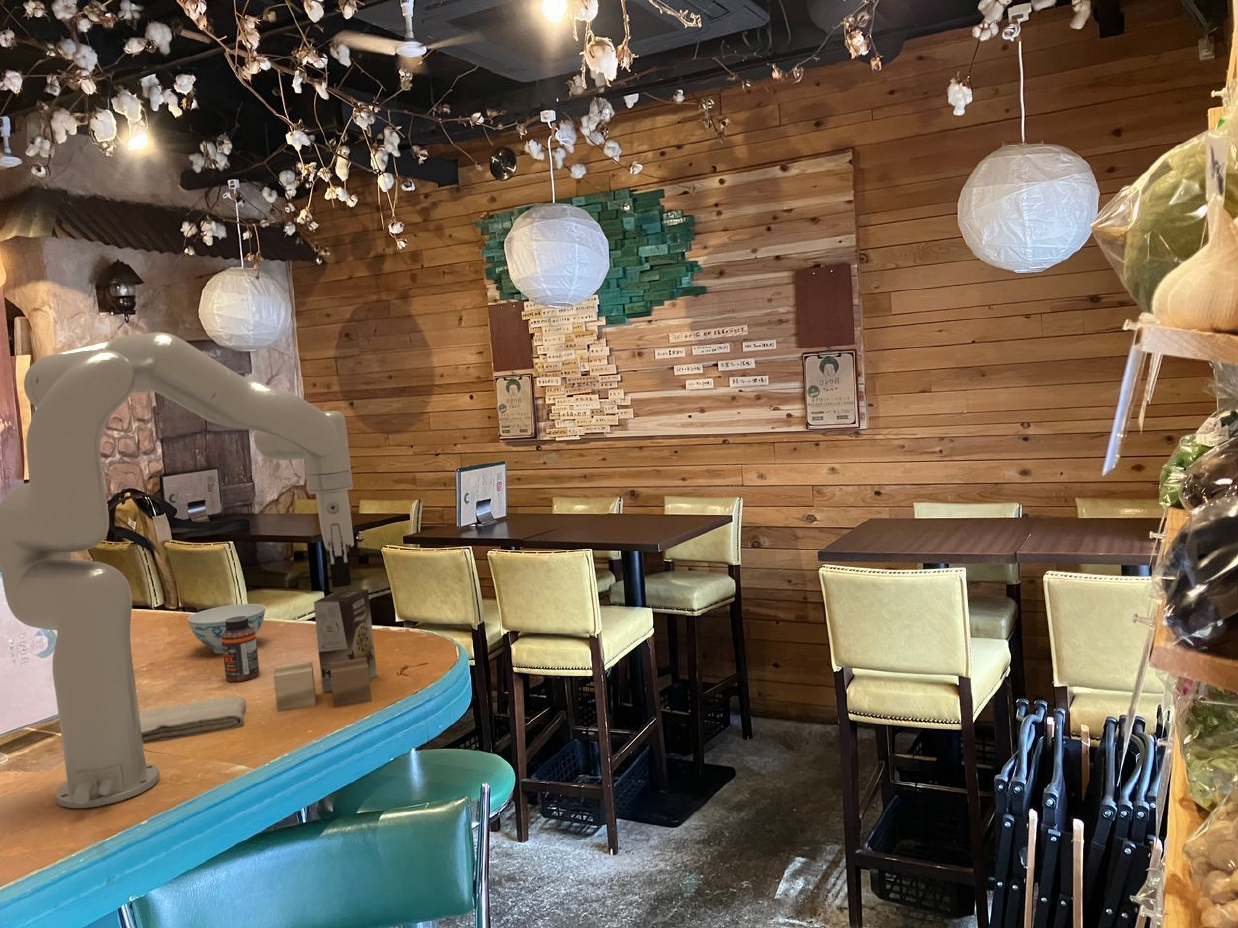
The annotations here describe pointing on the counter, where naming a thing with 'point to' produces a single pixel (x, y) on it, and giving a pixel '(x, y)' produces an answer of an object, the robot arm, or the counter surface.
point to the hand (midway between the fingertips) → (341, 585)
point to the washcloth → (191, 718)
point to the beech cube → (294, 685)
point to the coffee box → (344, 631)
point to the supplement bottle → (239, 650)
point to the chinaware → (223, 622)
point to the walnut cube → (350, 682)
